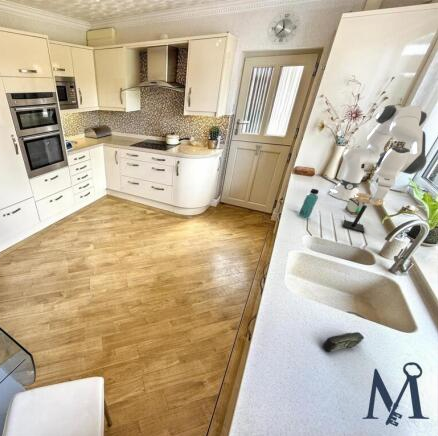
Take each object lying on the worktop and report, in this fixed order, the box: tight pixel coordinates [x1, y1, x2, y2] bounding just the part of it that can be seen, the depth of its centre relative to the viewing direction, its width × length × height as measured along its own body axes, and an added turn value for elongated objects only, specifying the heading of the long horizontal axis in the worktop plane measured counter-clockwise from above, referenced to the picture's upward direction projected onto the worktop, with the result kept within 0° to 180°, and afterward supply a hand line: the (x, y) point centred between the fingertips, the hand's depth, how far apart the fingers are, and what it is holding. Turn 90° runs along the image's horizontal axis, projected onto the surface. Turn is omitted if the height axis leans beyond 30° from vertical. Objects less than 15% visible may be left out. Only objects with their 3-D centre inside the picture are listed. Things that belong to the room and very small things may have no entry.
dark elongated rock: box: [322, 331, 365, 353], centre depth 77 cm, size 5×3×15 cm
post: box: [342, 204, 368, 234], centre depth 143 cm, size 10×10×15 cm
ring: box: [354, 192, 386, 206], centre depth 137 cm, size 14×14×2 cm
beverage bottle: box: [298, 188, 319, 219], centre depth 150 cm, size 6×7×20 cm
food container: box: [344, 197, 366, 217], centre depth 159 cm, size 12×6×10 cm, turn 168°
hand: (370, 201), depth 132 cm, fingers closed on ring, 2 cm apart
